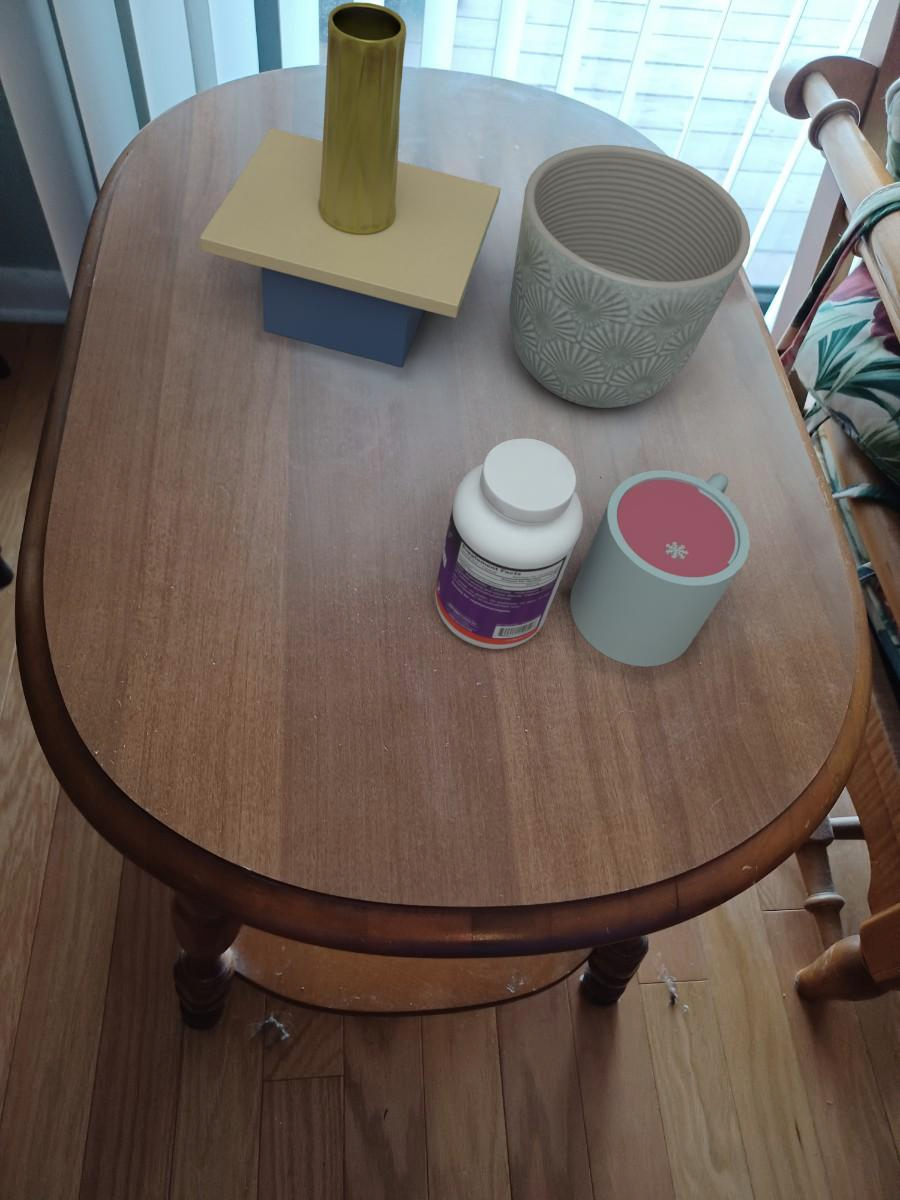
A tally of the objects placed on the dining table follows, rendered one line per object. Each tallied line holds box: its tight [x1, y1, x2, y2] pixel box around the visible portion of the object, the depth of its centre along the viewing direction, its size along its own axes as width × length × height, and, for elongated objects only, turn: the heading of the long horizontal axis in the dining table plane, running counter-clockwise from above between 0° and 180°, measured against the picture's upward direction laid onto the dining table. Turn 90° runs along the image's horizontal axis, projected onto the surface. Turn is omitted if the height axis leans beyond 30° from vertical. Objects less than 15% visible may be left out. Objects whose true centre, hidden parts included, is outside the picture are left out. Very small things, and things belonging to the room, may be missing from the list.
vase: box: [318, 1, 407, 234], centre depth 69 cm, size 6×6×14 cm
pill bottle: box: [434, 437, 584, 650], centre depth 61 cm, size 8×8×14 cm
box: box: [199, 127, 501, 368], centre depth 79 cm, size 20×16×9 cm
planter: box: [508, 144, 751, 409], centre depth 76 cm, size 17×17×15 cm
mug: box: [569, 469, 751, 668], centre depth 65 cm, size 14×9×10 cm
